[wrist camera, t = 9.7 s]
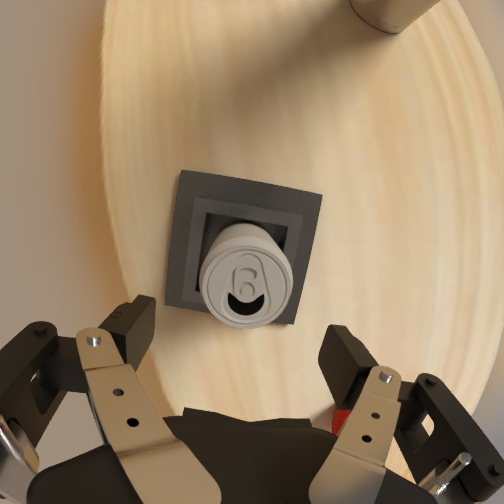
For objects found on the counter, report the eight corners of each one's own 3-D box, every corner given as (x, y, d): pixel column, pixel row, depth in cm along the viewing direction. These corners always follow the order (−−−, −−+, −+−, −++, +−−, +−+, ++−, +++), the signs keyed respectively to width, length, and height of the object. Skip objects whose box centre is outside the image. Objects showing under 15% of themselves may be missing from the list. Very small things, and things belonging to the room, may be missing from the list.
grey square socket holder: (183, 170, 28) (173, 166, 23) (319, 194, 29) (333, 195, 24) (166, 301, 31) (156, 317, 26) (291, 320, 32) (299, 339, 27)
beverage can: (212, 278, 29) (196, 332, 18) (214, 218, 28) (196, 237, 16) (271, 281, 30) (291, 335, 18) (275, 222, 28) (302, 242, 17)
